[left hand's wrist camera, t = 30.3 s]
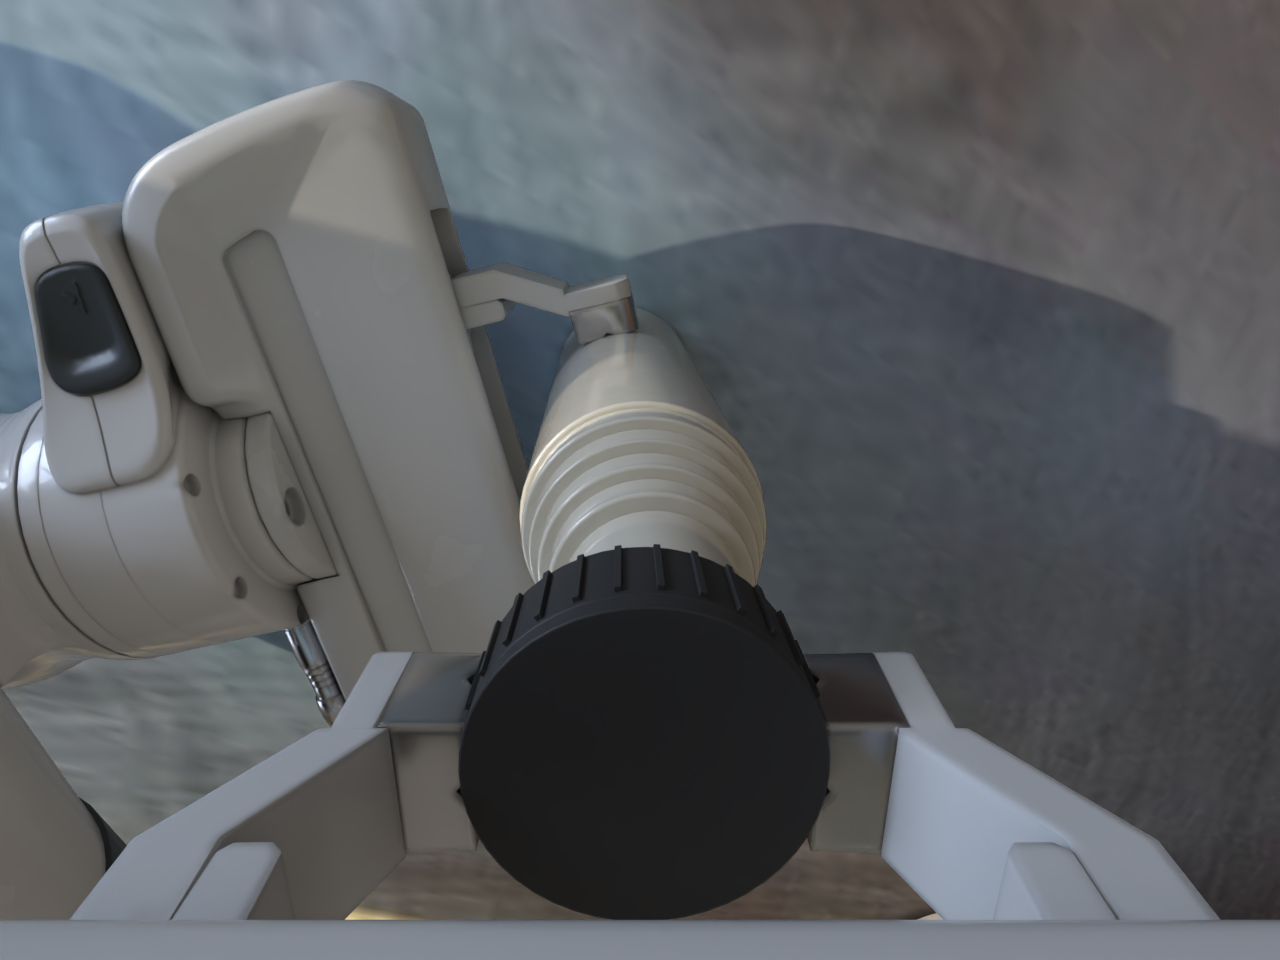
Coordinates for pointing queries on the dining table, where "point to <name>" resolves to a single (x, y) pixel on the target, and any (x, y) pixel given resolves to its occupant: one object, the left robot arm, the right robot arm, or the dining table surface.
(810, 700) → the cap
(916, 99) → the dining table surface
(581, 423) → the bottle
